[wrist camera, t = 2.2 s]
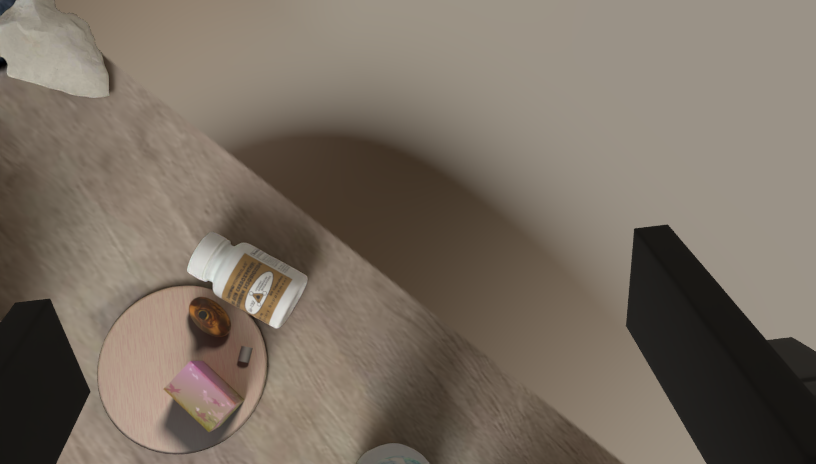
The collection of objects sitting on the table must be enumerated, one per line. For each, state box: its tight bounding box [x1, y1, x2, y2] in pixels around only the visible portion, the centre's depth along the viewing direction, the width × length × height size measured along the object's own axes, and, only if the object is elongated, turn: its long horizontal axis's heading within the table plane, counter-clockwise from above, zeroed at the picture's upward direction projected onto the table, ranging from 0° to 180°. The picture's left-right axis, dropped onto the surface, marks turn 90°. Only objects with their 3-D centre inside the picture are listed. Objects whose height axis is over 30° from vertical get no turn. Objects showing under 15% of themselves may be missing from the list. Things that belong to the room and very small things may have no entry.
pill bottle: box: [187, 232, 308, 328], centre depth 49 cm, size 4×4×8 cm
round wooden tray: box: [97, 286, 267, 454], centre depth 47 cm, size 12×12×4 cm
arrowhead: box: [0, 0, 110, 98], centre depth 52 cm, size 7×2×10 cm
